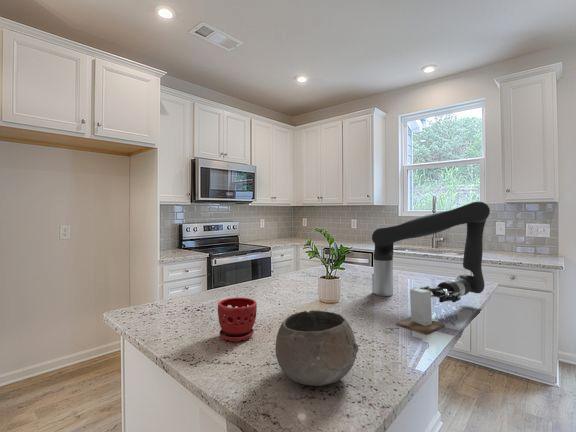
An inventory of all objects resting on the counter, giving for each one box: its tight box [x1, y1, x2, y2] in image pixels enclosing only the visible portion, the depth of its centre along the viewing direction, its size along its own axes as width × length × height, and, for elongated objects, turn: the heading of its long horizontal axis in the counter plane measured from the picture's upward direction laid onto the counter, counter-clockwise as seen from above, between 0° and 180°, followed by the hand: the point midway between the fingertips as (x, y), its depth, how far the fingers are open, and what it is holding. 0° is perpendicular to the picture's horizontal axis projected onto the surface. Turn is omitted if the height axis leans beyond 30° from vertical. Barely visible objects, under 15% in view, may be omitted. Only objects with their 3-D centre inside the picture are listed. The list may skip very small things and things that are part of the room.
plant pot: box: [217, 297, 258, 342], centre depth 109 cm, size 13×13×12 cm
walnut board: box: [395, 316, 446, 335], centre depth 116 cm, size 12×12×1 cm
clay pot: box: [274, 309, 359, 387], centre depth 82 cm, size 21×21×15 cm
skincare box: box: [409, 287, 433, 326], centre depth 116 cm, size 6×4×12 cm
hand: (429, 297), depth 119 cm, fingers open, 8 cm apart
